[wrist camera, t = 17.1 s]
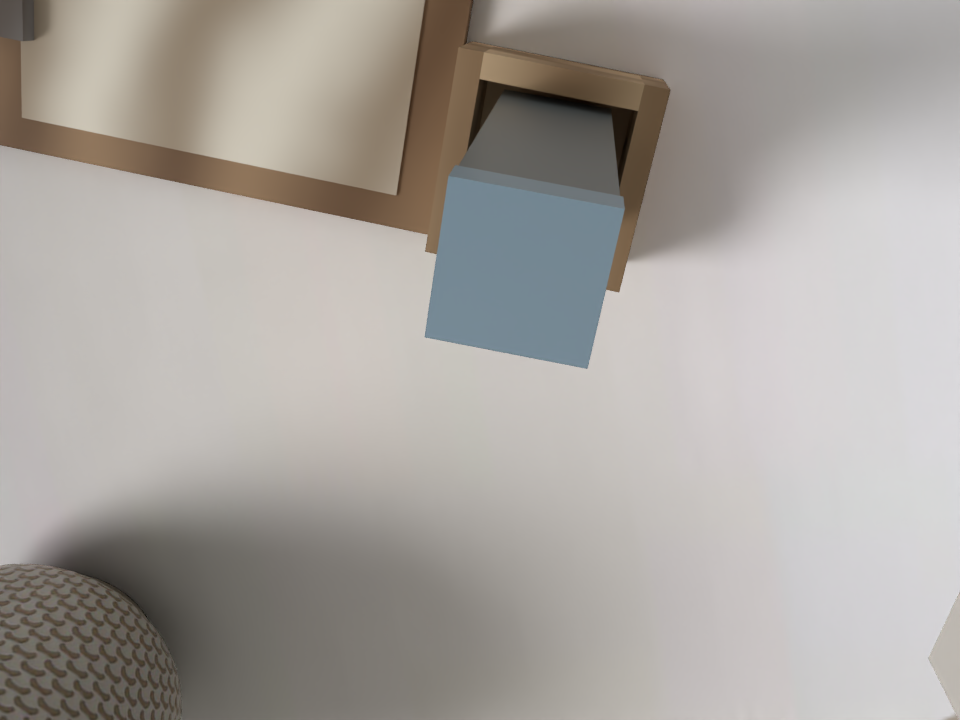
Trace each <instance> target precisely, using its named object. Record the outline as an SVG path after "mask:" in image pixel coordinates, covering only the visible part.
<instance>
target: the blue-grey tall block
mask: <svg viewBox="0 0 960 720" xmlns="http://www.w3.org/2000/svg"><path fill="white" fill-rule="evenodd" d="M624 210H625V206H624V198H623V196H620V189H619V180H618V170H617V161H616V151H615V142H614V132H613V123H612V114H611V109H609V108H604V107H598V106H593V105H588V104H582V103H577V102H571V101H566V100H560V99H555V98H550V97H544V96H539V95H533V94H528V93H522V92H517V91H512V90H506V89H504V91H503V93H502V94H501V96H500V98H499V99H498V101H497V103H496V104H495V106H494V108H493V109H492V111H491V113H490V114H489V116H488V118H487V119H486V121H485V123H484V124H483V126H482V128H481V129H480V131H479V132H478V134H477V136H476V137H475V139H474V141H473V142H472V144H471V146H470V147H469V149H468V151H467V152H466V154H465V156H464V157H463V159H462V161H461V162H460V164H459V166H458V165H455V166H454V168H453V169H452V171H451V173H450V174H449V176H448V182H447V189H446V196H445V203H444V209H443V216H442V223H441V230H440V237H439V243H438V250H437V257H436V264H435V270H434V277H433V284H432V291H431V298H430V304H429V311H428V318H427V325H426V331H425V337H426V338H431V339H437V340H442V341H447V342H452V343H457V344H462V345H468V346H473V347H478V348H483V349H488V350H493V351H498V352H504V353H509V354H514V355H519V356H524V357H529V358H535V359H540V360H545V361H550V362H555V363H560V364H565V365H571V366H576V367H581V368H586V369H587V368H588V364H589V360H590V355H591V351H592V347H593V343H594V338H595V334H596V330H597V326H598V321H599V317H600V313H601V308H602V304H603V300H604V296H605V291H606V287H607V283H608V279H609V274H610V270H611V266H612V262H613V257H614V253H615V249H616V244H617V240H618V236H619V232H620V227H621V223H622V219H623V215H624Z"/></svg>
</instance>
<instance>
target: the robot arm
mask: <svg viewBox="0 0 960 720" xmlns="http://www.w3.org/2000/svg"><path fill="white" fill-rule="evenodd" d="M928 659H929V661H930V663H931V665H932V667H933V669H934V671H935V673H936V675H937V677H938V679H939V681H940V683H941V685H942V687H943V689H944V691H945V693H946V695H947V697H948V699H949V701H950V703H951V705H952V707H953V709H954V711H955V713H956V715H957V717H958V719H959V720H960V592H959V594H958V596H957V599H956V601H955V603H954V605H953V607H952V609H951V611H950V613H949V616H948V618H947V620H946V622H945V624H944V626H943V628H942V630H941V632H940V635H939V637H938V639H937V641H936V643H935V645H934V647H933V649H932V652H931V654H930V656H929V658H928Z"/></svg>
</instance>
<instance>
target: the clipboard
mask: <svg viewBox="0 0 960 720" xmlns="http://www.w3.org/2000/svg"><path fill="white" fill-rule="evenodd" d="M472 5H473V0H0V145H3V146H7V147H12V148H17V149H22V150H27V151H31V152H36V153H41V154H46V155H50V156H55V157H60V158H65V159H70V160H74V161H79V162H84V163H89V164H93V165H98V166H103V167H108V168H113V169H117V170H122V171H127V172H132V173H136V174H141V175H146V176H151V177H156V178H160V179H165V180H170V181H175V182H179V183H184V184H189V185H194V186H199V187H203V188H208V189H213V190H218V191H222V192H227V193H232V194H237V195H242V196H246V197H251V198H256V199H261V200H265V201H270V202H275V203H280V204H285V205H289V206H294V207H299V208H304V209H308V210H313V211H318V212H323V213H328V214H332V215H337V216H342V217H347V218H351V219H356V220H361V221H366V222H370V223H375V224H380V225H385V226H390V227H394V228H399V229H404V230H409V231H413V232H418V233H423V234H428V231H429V225H430V219H431V213H432V207H433V201H434V195H435V188H436V182H437V176H438V170H439V164H440V158H441V152H442V146H443V139H444V133H445V127H446V121H447V115H448V109H449V103H450V97H451V91H452V84H453V78H454V72H455V66H456V60H457V54H458V48H459V47H460V46H463V45H465V44H466V41H467V35H468V29H469V23H470V17H471V11H472Z"/></svg>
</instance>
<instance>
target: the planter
mask: <svg viewBox="0 0 960 720" xmlns="http://www.w3.org/2000/svg"><path fill="white" fill-rule="evenodd" d="M181 711H182V700H181V686H180V681H179V677H178V674H177V670H176V666H175V664H174V661H173V659H172V657H171V654H170V652H169V650H168V648H167V645H166V644H165V642H164V641H163V639H162V638H161V636H160V634H159V633H158V631H157V630H156V629H155V627H154V626H153V625H152V624H151V623H150V621H149V620H148V619H147V617H146V616H145V614H144V613H143V611H142V610H141V609H140V608H139V607H138V605H137V604H136V603H135V602H134V601H133V600H132V599H131V598H129V597H128V596H127V595H126V594H124V593H123V592H122V591H120V590H119V589H117V588H116V587H114V586H112V585H110V584H108V583H106V582H104V581H101V580H99V579H96V578H93V577H89V576H85V575H82V574H79V573H77V572H74V571H70V570H66V569H62V568H58V567H54V566H46V565H38V564H7V565H1V566H0V720H180V719H181Z"/></svg>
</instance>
